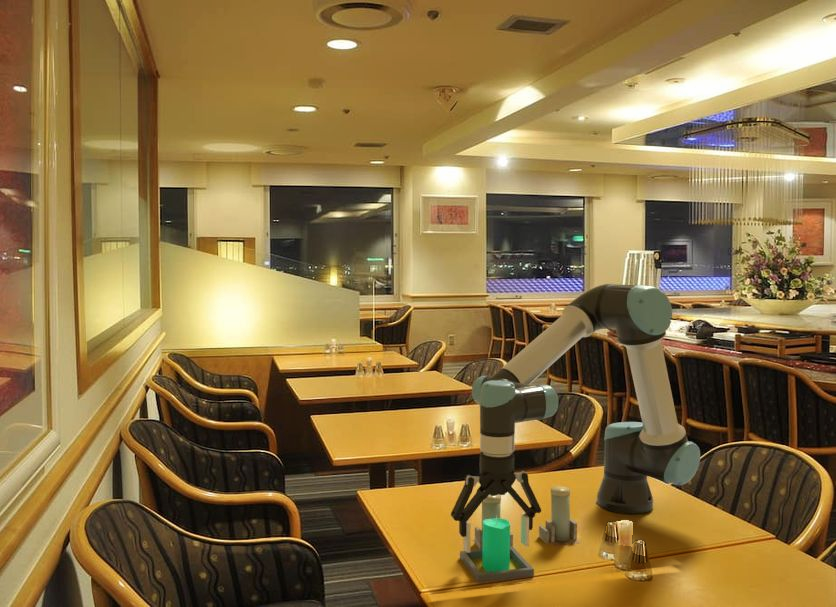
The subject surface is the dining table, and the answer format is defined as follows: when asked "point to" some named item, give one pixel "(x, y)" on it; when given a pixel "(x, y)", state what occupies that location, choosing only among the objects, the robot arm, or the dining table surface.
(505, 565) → the candle
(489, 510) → the fuse
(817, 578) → the dining table surface
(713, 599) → the dining table surface
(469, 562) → the tray
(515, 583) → the dining table surface
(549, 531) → the fuse clips
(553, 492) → the cream round cylinder
